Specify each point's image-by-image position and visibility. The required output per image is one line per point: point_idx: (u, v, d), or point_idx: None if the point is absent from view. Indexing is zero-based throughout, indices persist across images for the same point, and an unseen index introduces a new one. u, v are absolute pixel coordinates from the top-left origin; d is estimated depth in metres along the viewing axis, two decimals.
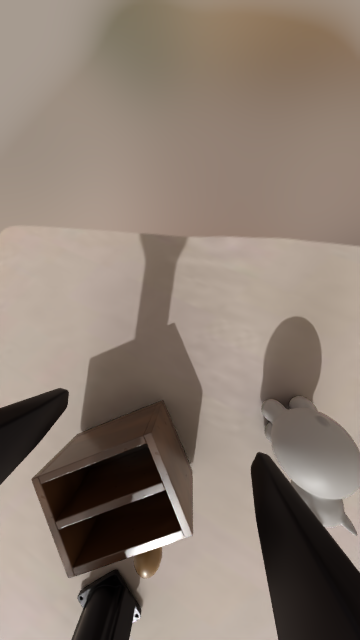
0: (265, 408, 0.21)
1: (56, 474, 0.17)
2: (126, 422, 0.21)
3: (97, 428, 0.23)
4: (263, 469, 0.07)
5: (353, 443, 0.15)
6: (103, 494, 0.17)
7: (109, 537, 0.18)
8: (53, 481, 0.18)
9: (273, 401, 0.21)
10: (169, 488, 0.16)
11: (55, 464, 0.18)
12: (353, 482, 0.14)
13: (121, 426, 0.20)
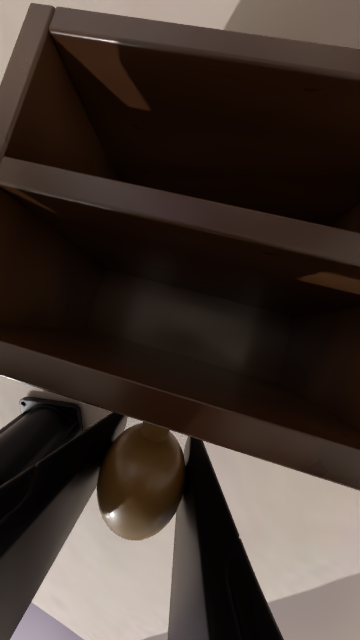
0: None
1: (112, 27, 0.05)
2: None
3: None
4: (189, 444, 0.07)
5: None
6: None
7: (94, 350, 0.06)
8: (67, 109, 0.06)
9: None
10: None
11: None
12: None
13: None
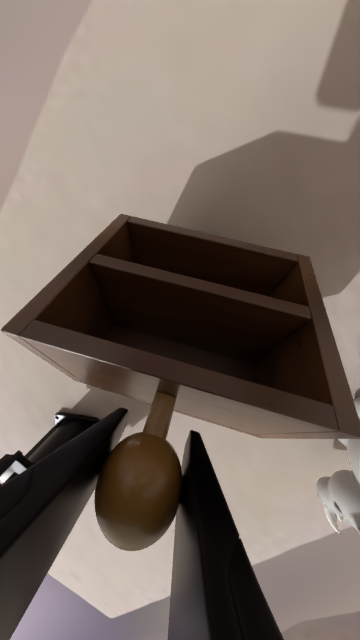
0: None
1: (154, 224, 0.12)
2: None
3: None
4: (189, 444, 0.07)
5: None
6: None
7: None
8: (124, 243, 0.12)
9: None
10: (320, 320, 0.08)
11: None
12: None
13: None
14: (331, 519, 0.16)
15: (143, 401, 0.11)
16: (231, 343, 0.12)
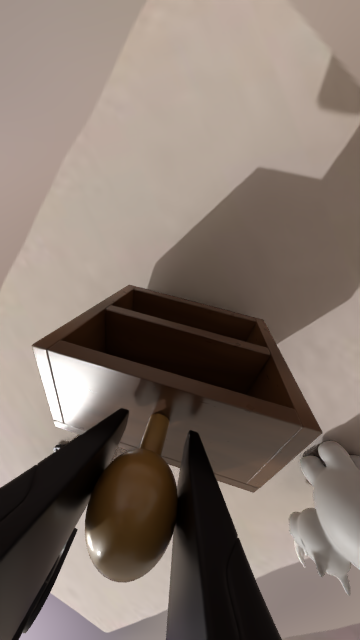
0: (331, 450, 0.18)
1: (153, 292, 0.16)
2: None
3: None
4: (187, 444, 0.07)
5: None
6: None
7: None
8: (128, 303, 0.16)
9: (344, 450, 0.18)
10: (277, 356, 0.11)
11: None
12: None
13: None
14: (299, 553, 0.18)
15: (128, 449, 0.11)
16: (214, 385, 0.13)
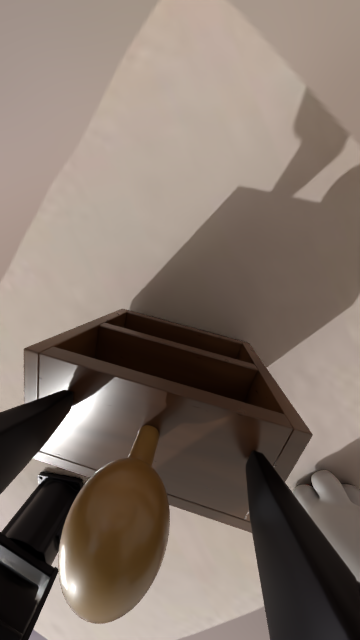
0: (324, 481, 0.18)
1: (145, 316, 0.17)
2: None
3: None
4: (257, 467, 0.07)
5: None
6: None
7: None
8: (120, 325, 0.16)
9: (337, 481, 0.18)
10: (263, 371, 0.11)
11: None
12: None
13: None
14: None
15: None
16: None
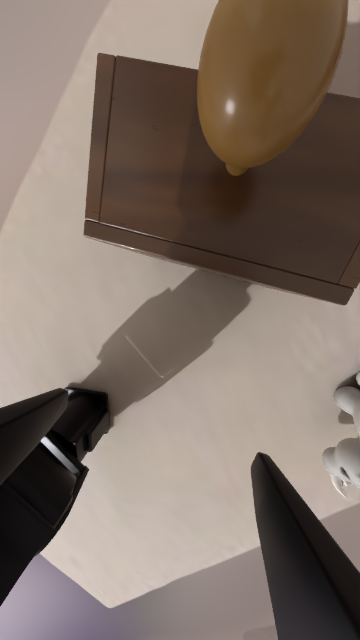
0: None
1: None
2: None
3: None
4: (264, 469, 0.07)
5: None
6: None
7: None
8: None
9: None
10: None
11: None
12: None
13: None
14: (337, 485, 0.16)
15: (179, 256, 0.08)
16: None
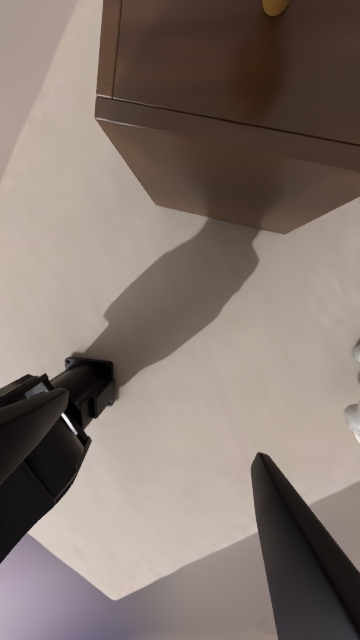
0: None
1: None
2: None
3: None
4: (263, 469, 0.07)
5: None
6: None
7: None
8: None
9: None
10: None
11: None
12: None
13: None
14: None
15: (204, 132, 0.07)
16: None
